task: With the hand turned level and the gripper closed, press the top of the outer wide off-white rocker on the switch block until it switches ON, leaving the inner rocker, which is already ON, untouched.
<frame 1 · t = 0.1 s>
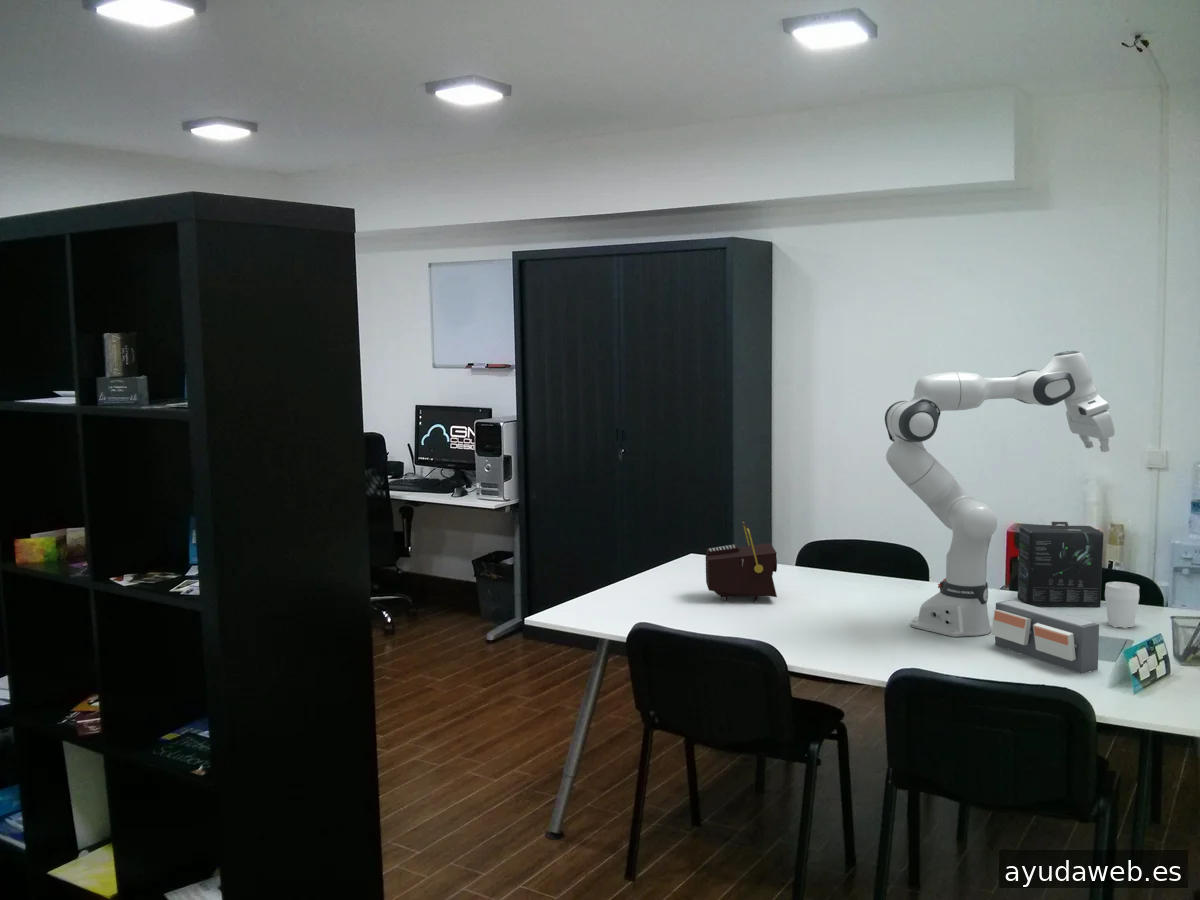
hand: (1097, 449, 294), 52 cm above the table, tool tilted 20°, fingers open, 8 cm apart
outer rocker: (1054, 641, 264), point 7 cm above the table, hinge at -10.0°
inner rocker: (1011, 627, 276), point 7 cm above the table, hinge at 10.0°
switch block: (1044, 656, 273), on the table
dark brown boxy piece: (742, 599, 340), on the table
headset box: (1058, 603, 325), on the table
cup: (1120, 626, 299), on the table
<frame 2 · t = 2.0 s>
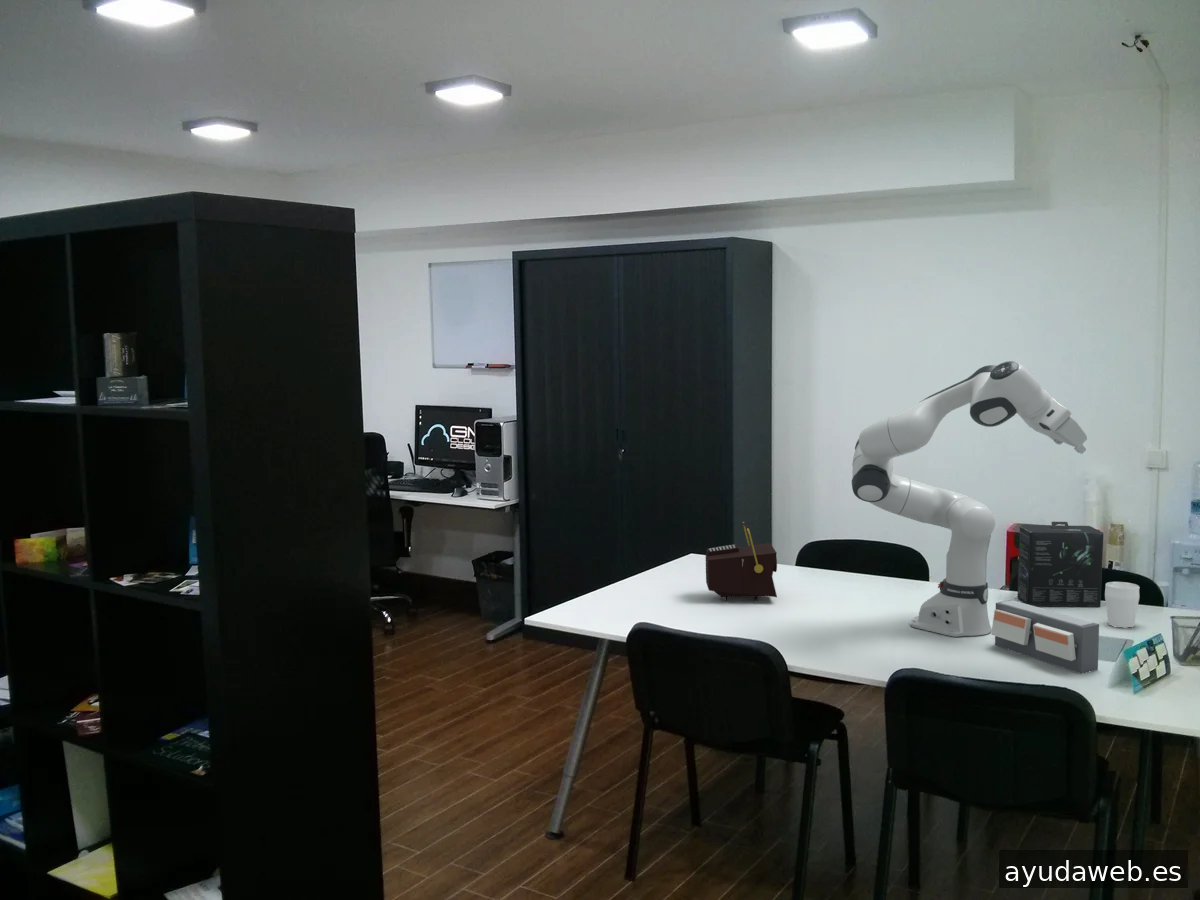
hand: (1071, 446, 263), 57 cm above the table, tool tilted 45°, fingers open, 8 cm apart
nothing on the table moved.
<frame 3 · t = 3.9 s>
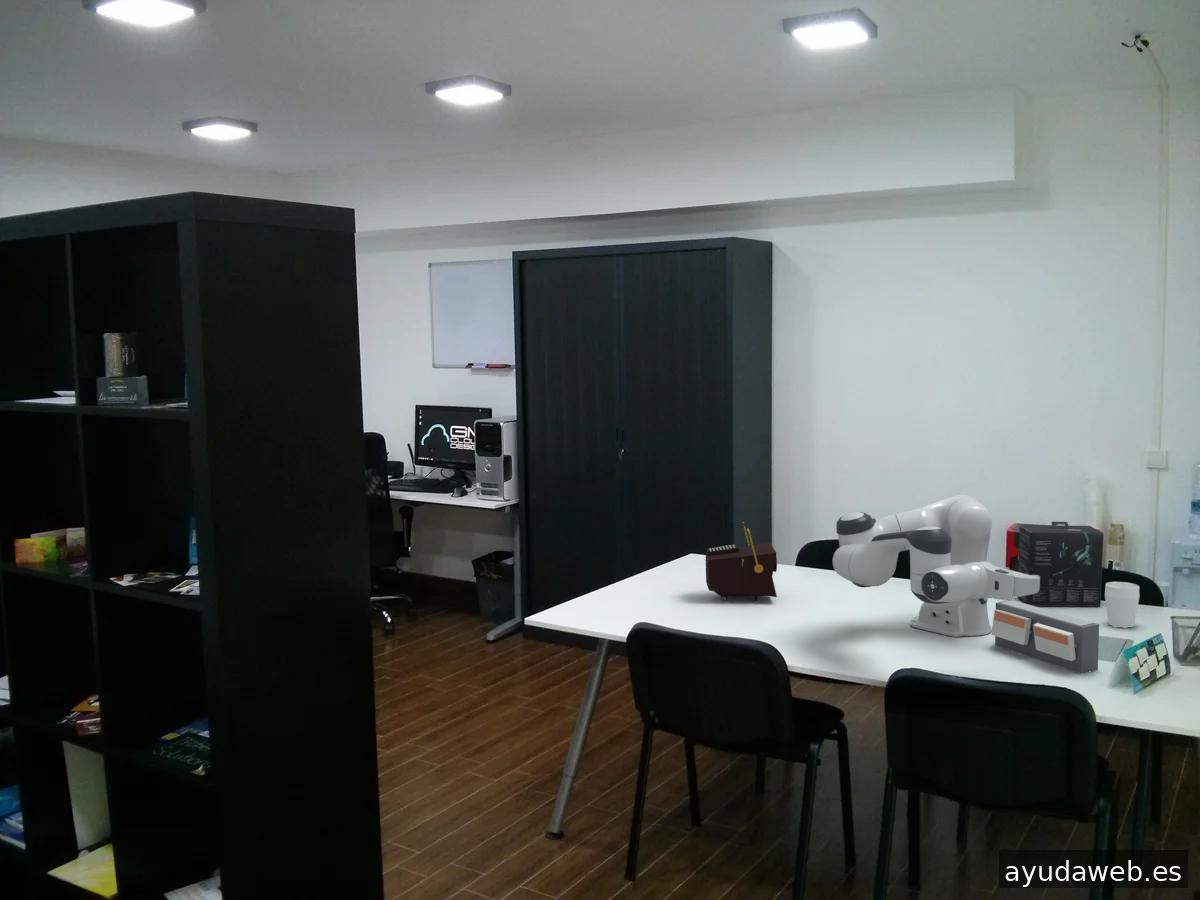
hand: (1022, 574, 256), 26 cm above the table, tool horizontal, fingers open, 8 cm apart
nothing on the table moved.
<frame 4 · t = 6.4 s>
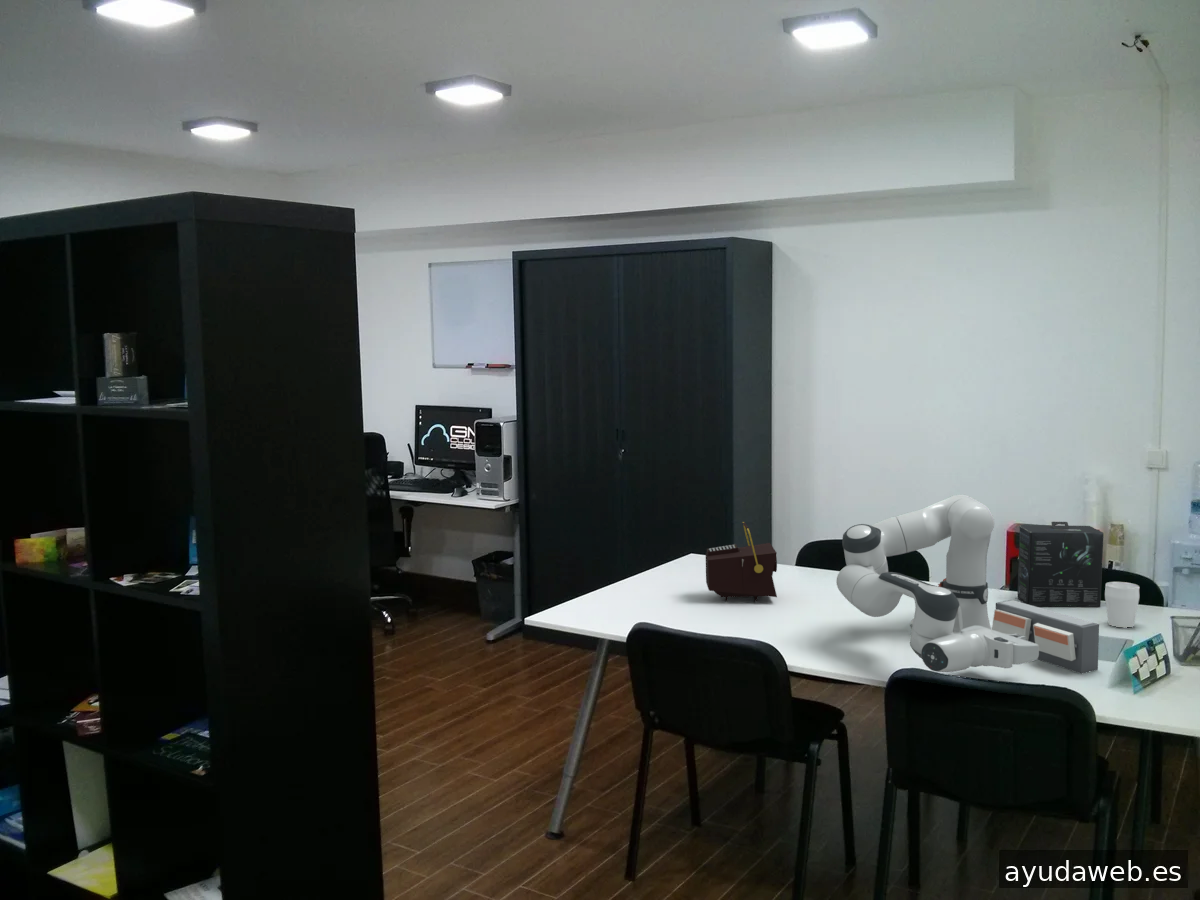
hand: (1021, 638, 258), 10 cm above the table, tool horizontal, fingers closed
nothing on the table moved.
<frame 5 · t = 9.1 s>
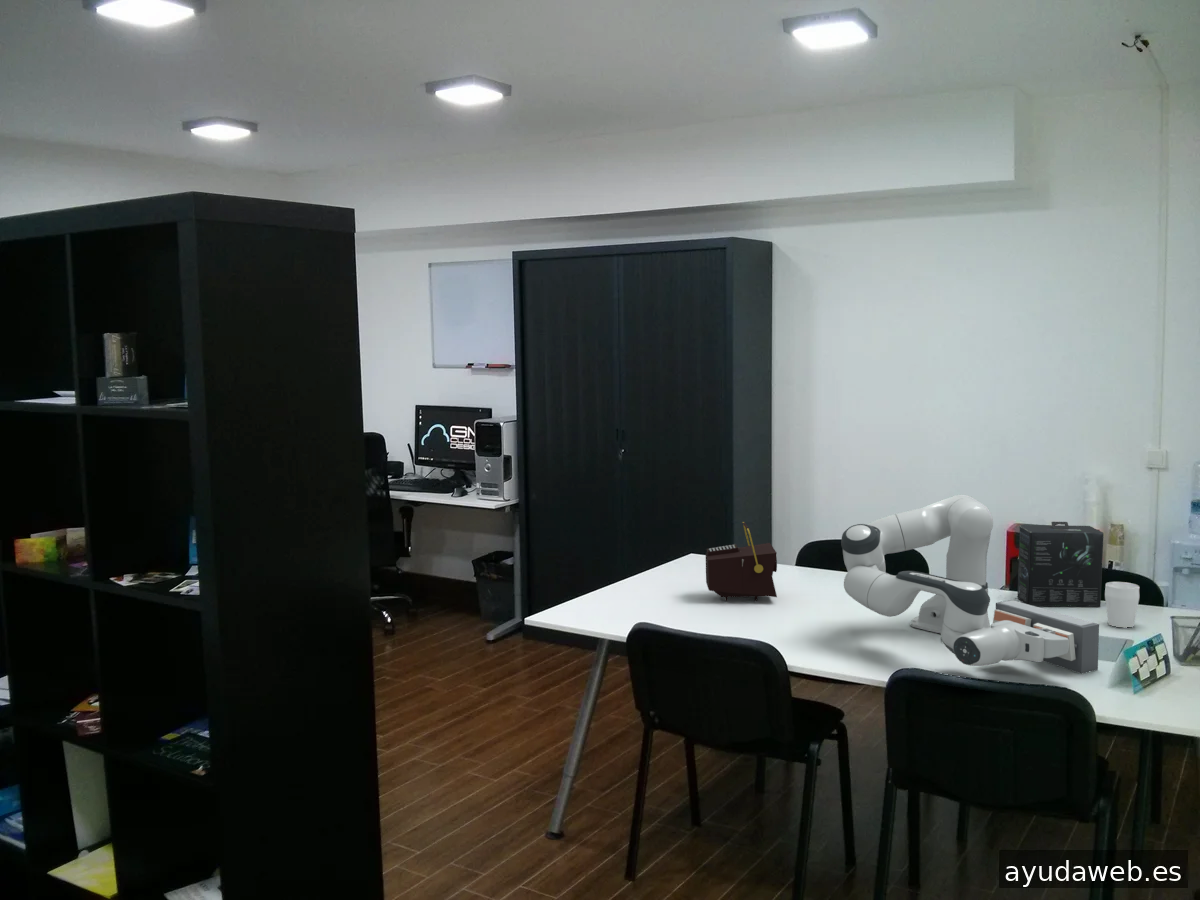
hand: (1050, 632, 263), 10 cm above the table, tool horizontal, fingers closed, pressing on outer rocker
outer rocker: (1054, 641, 264), point 7 cm above the table, hinge at -9.5°, touching gripper
everything else where it was.
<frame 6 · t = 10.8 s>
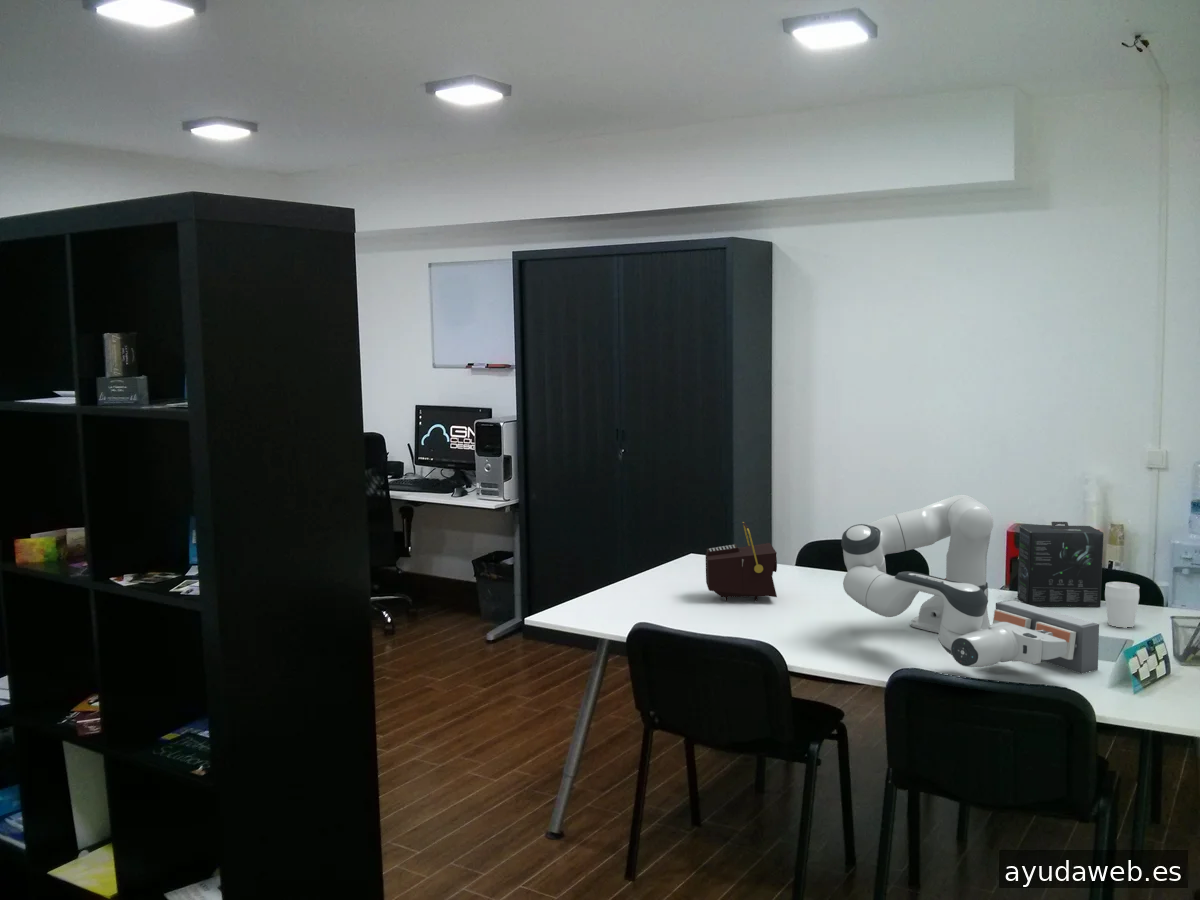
hand: (1048, 634, 262), 9 cm above the table, tool horizontal, fingers closed
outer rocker: (1054, 640, 264), point 7 cm above the table, hinge at 8.8°
everything else where it was.
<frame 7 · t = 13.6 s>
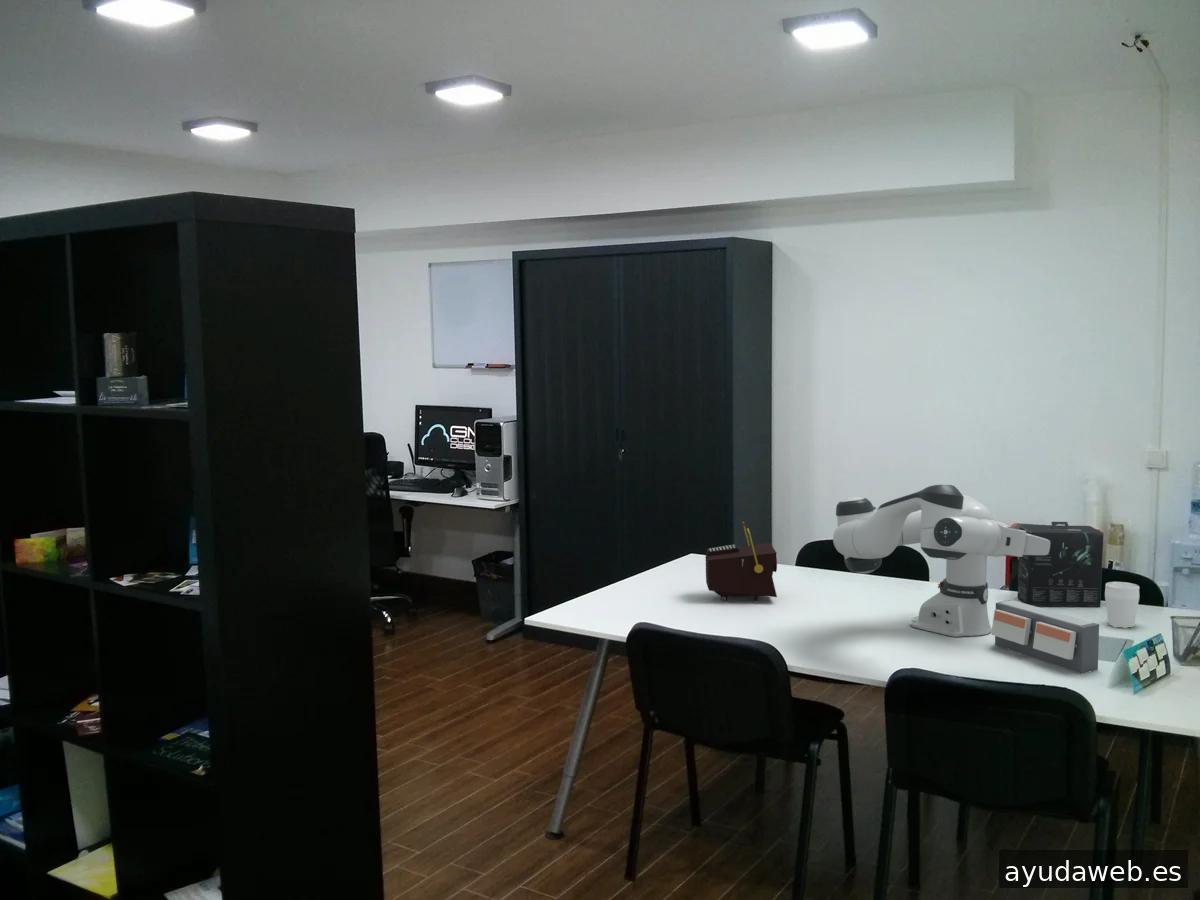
hand: (1030, 543, 257), 34 cm above the table, tool horizontal, fingers closed
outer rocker: (1054, 640, 264), point 7 cm above the table, hinge at 9.4°
everything else where it was.
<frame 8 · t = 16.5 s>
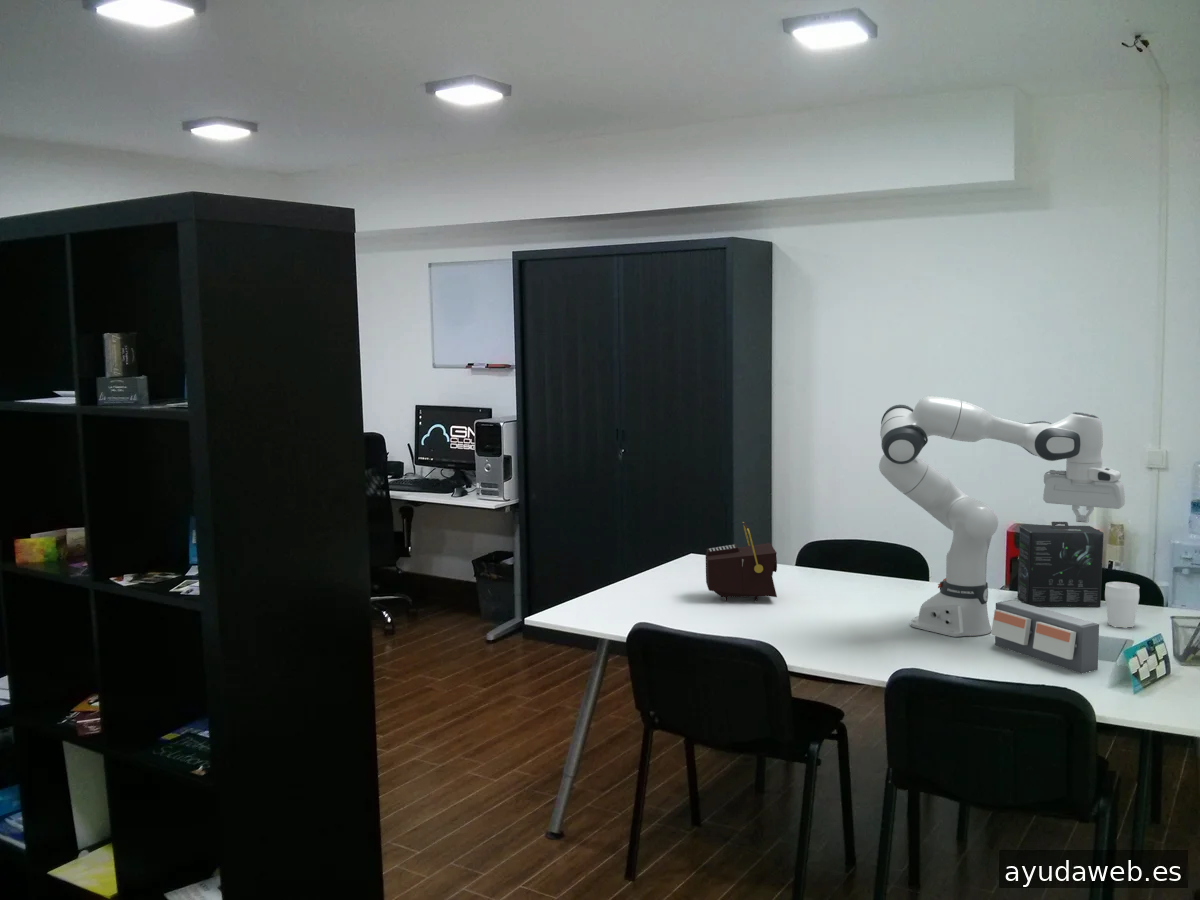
hand: (1082, 521, 280), 34 cm above the table, tool pointing down, fingers closed
nothing on the table moved.
at the end: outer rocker at +9° (first picture: -10°); inner rocker at +10° (first picture: +10°) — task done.
